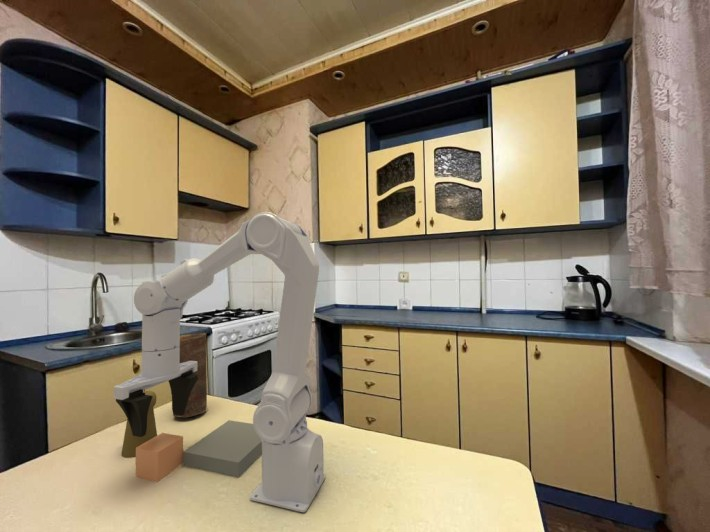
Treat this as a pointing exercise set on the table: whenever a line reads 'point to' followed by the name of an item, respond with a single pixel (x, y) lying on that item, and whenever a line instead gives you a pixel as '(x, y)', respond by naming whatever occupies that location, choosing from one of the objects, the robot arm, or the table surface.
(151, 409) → the cork
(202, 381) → the candle
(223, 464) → the grey square plate
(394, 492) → the table surface
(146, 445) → the terracotta cube
